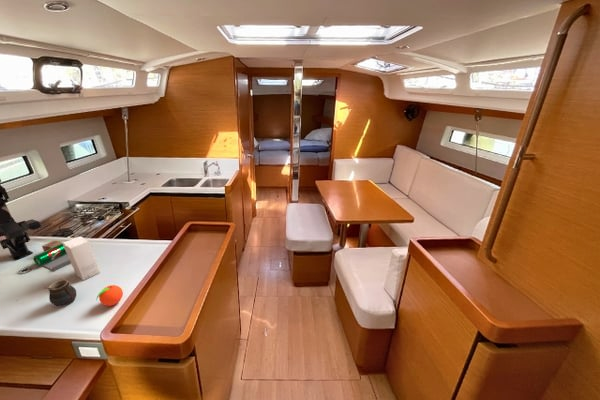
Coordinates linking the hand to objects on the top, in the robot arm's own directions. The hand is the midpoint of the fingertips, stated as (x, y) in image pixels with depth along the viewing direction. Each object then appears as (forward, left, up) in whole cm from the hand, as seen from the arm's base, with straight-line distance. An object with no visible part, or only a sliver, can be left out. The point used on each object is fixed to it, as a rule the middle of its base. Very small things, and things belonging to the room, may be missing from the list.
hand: (16, 251), depth 106 cm
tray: (0, +13, -12) cm, 17 cm away
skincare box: (+22, +11, -12) cm, 27 cm away
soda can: (-3, +5, -9) cm, 10 cm away
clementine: (+49, +5, -12) cm, 51 cm away
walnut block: (-10, +14, -12) cm, 21 cm away
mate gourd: (+33, -2, -12) cm, 35 cm away
